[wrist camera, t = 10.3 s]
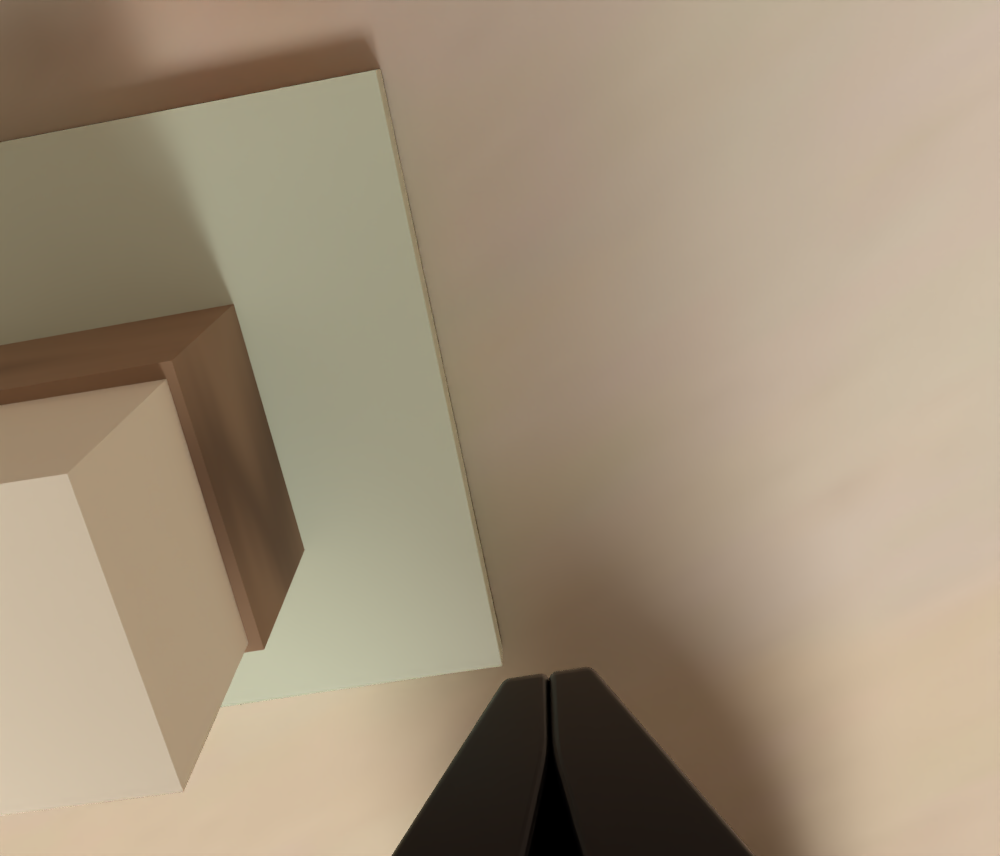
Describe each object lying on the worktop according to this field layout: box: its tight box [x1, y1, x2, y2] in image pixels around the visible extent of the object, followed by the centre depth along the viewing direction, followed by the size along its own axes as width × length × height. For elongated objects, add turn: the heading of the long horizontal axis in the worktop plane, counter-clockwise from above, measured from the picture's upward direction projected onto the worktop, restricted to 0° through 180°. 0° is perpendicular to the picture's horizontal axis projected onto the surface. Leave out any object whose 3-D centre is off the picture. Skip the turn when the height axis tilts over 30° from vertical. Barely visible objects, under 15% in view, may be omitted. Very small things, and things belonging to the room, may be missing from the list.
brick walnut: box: [0, 304, 305, 653], centre depth 19 cm, size 6×6×4 cm
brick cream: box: [0, 379, 248, 816], centre depth 16 cm, size 6×6×4 cm
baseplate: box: [0, 69, 502, 707], centre depth 22 cm, size 14×14×1 cm
